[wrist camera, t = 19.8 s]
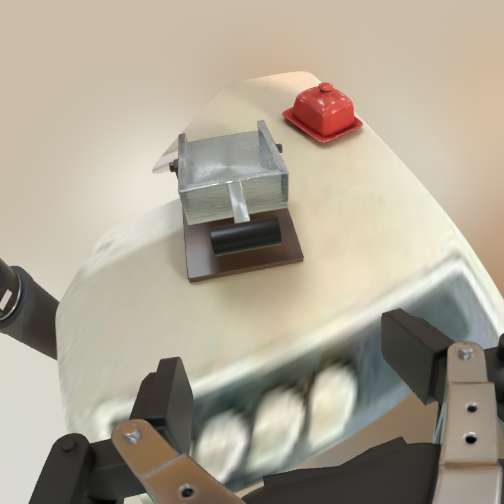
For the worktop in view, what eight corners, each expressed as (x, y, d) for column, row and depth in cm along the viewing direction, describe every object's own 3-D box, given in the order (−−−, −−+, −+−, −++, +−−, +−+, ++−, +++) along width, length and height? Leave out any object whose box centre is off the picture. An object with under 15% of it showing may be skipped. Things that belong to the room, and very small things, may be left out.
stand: (303, 261, 39) (310, 217, 31) (189, 282, 38) (171, 243, 30) (278, 187, 45) (279, 140, 38) (183, 204, 44) (169, 160, 37)
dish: (309, 264, 27) (314, 225, 23) (192, 286, 26) (178, 250, 22) (259, 135, 40) (257, 103, 37) (185, 148, 40) (178, 116, 36)
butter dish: (320, 150, 49) (325, 107, 42) (278, 118, 55) (278, 79, 48) (365, 129, 52) (373, 91, 45) (323, 101, 58) (326, 66, 51)
